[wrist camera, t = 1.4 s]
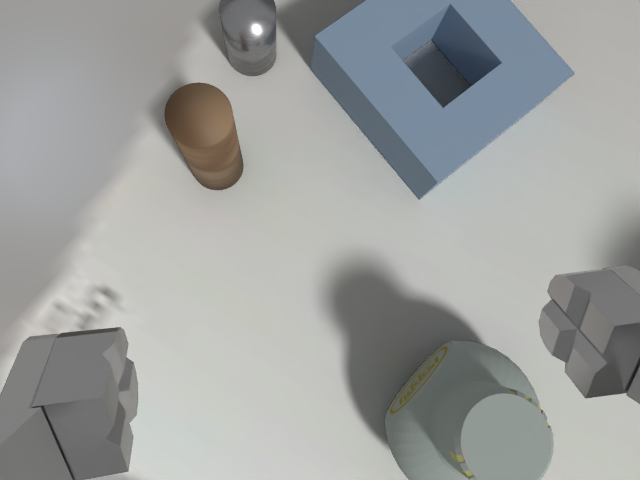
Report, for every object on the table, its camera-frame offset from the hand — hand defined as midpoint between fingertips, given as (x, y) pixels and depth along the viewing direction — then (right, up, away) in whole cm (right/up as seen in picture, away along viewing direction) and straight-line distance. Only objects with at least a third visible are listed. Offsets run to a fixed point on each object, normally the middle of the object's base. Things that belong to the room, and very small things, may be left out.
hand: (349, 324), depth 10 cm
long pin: (-9, +7, +31) cm, 33 cm away
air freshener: (+9, -12, +30) cm, 33 cm away
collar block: (+8, +15, +34) cm, 38 cm away
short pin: (-6, +17, +33) cm, 38 cm away
